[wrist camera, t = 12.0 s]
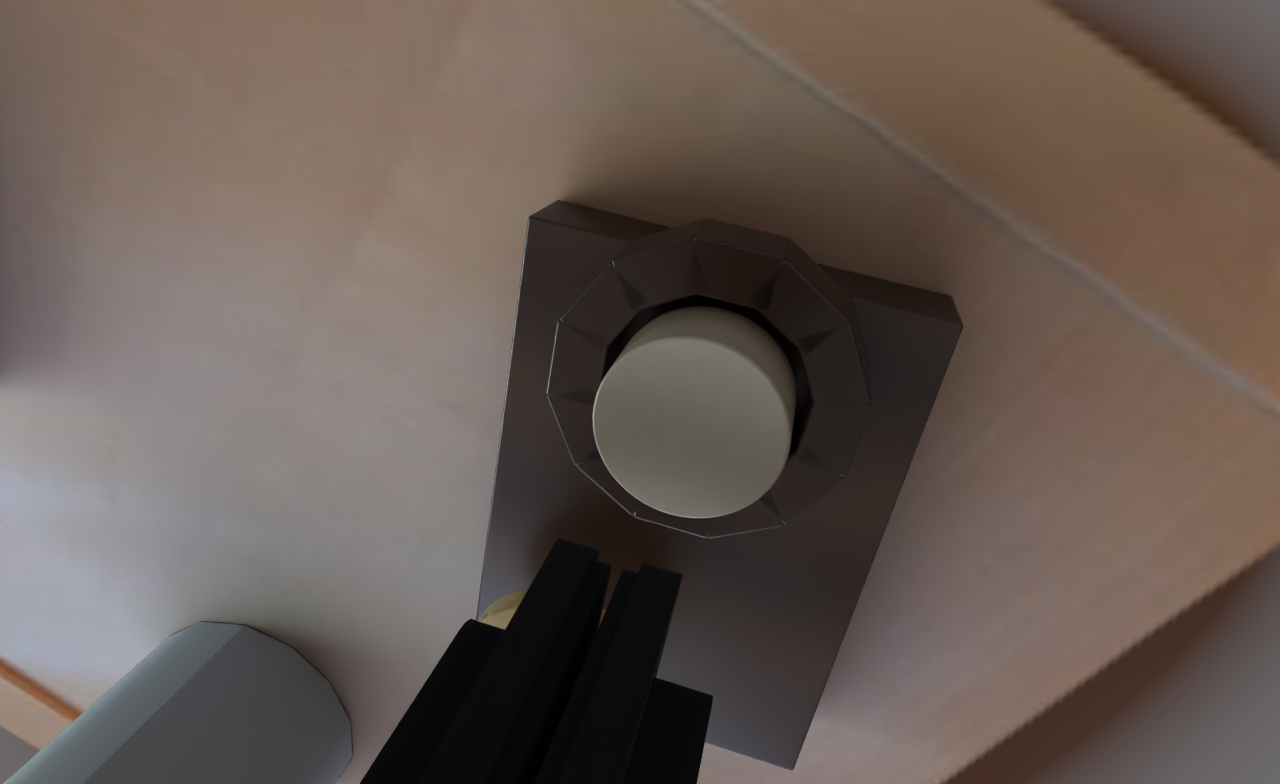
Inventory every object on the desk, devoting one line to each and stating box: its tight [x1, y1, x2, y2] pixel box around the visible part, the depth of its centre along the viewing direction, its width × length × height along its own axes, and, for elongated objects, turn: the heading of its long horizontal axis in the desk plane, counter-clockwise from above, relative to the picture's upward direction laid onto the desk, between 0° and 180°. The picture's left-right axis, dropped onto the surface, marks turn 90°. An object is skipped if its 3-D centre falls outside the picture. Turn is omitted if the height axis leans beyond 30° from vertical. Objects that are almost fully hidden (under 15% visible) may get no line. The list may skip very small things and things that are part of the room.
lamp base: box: [476, 200, 963, 770], centre depth 21 cm, size 15×10×4 cm, turn 169°
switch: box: [592, 306, 797, 518], centre depth 17 cm, size 4×4×2 cm
